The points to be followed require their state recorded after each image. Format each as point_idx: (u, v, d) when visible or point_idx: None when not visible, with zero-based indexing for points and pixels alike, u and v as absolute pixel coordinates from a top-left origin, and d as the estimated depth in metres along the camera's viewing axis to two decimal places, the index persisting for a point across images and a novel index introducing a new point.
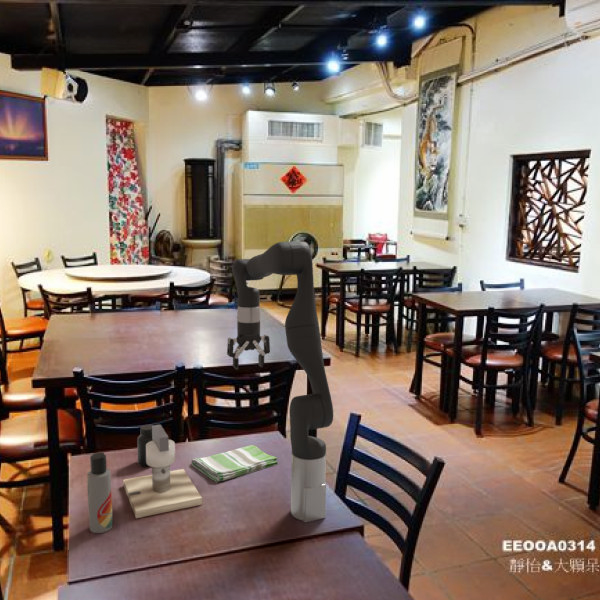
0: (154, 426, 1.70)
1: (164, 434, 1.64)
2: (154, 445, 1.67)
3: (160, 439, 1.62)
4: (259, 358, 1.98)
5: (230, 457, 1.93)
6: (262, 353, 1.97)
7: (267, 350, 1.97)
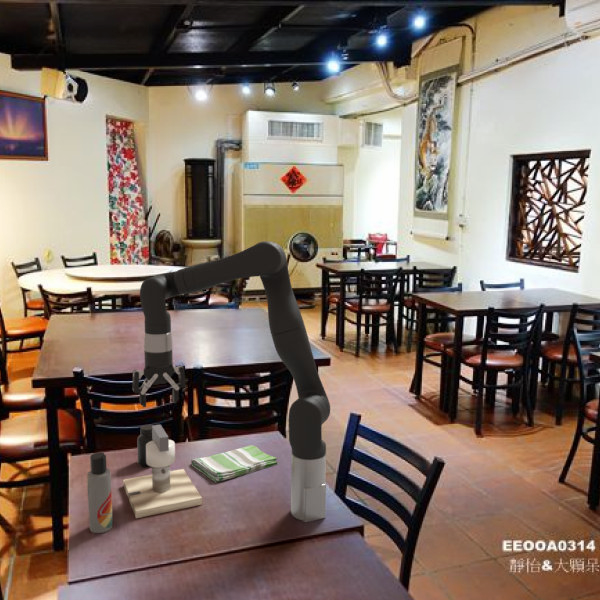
0: (154, 426, 1.70)
1: (164, 434, 1.64)
2: (154, 445, 1.67)
3: (160, 439, 1.62)
4: (173, 393, 1.67)
5: (230, 457, 1.93)
6: (176, 387, 1.66)
7: (182, 384, 1.66)
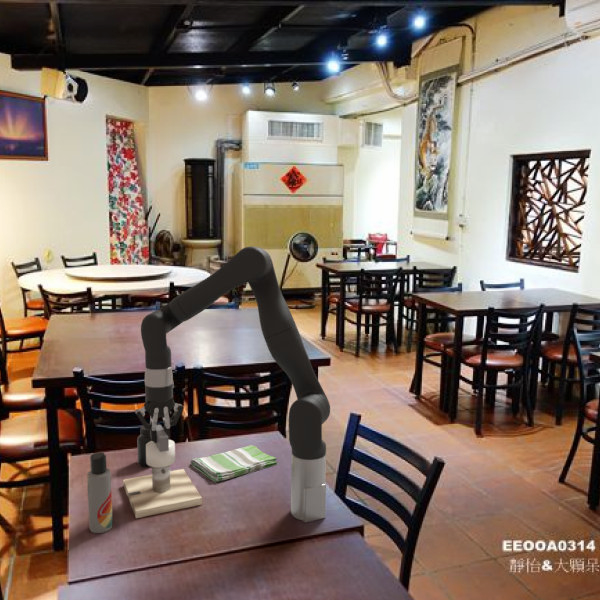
0: None
1: (164, 434, 1.64)
2: (154, 445, 1.67)
3: (160, 439, 1.62)
4: None
5: (229, 457, 1.93)
6: (167, 425, 1.66)
7: (173, 422, 1.67)
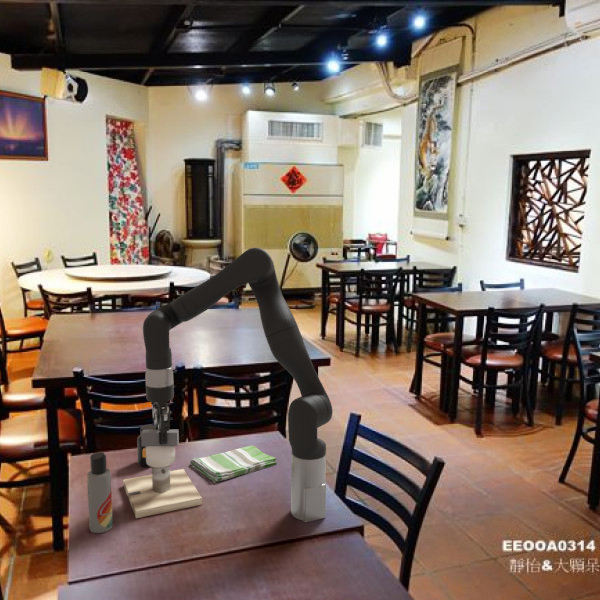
0: (144, 432, 1.66)
1: (171, 430, 1.67)
2: (159, 446, 1.66)
3: (177, 433, 1.66)
4: None
5: (229, 457, 1.93)
6: None
7: None
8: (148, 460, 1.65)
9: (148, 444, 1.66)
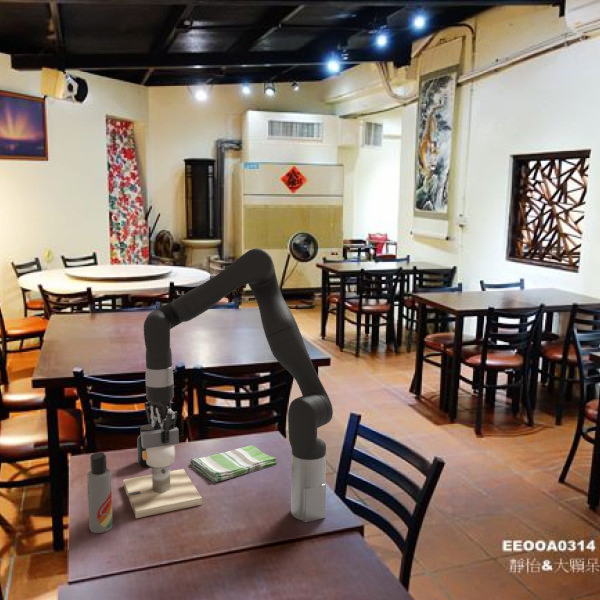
0: (145, 434, 1.64)
1: None
2: (161, 446, 1.66)
3: (178, 431, 1.68)
4: None
5: (229, 457, 1.93)
6: None
7: None
8: (152, 461, 1.64)
9: (150, 446, 1.65)
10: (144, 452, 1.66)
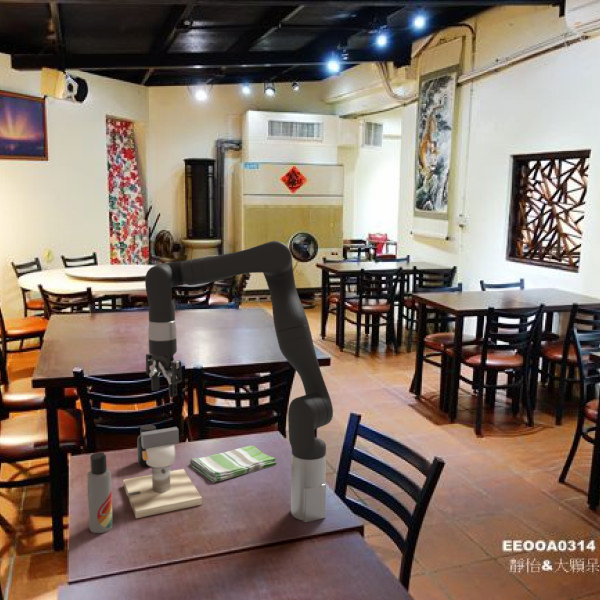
0: (145, 434, 1.64)
1: (169, 428, 1.69)
2: (161, 446, 1.66)
3: (178, 431, 1.68)
4: (155, 381, 1.68)
5: (229, 457, 1.93)
6: None
7: None
8: (152, 461, 1.64)
9: (150, 446, 1.65)
10: (144, 452, 1.65)
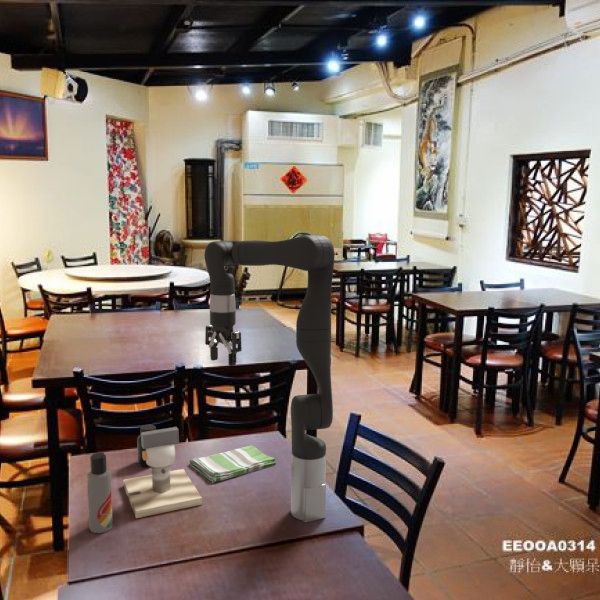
0: (145, 434, 1.64)
1: (169, 428, 1.69)
2: (161, 446, 1.66)
3: (178, 431, 1.68)
4: (214, 351, 1.78)
5: (228, 457, 1.93)
6: None
7: None
8: (152, 461, 1.64)
9: (150, 446, 1.65)
10: (144, 452, 1.65)
